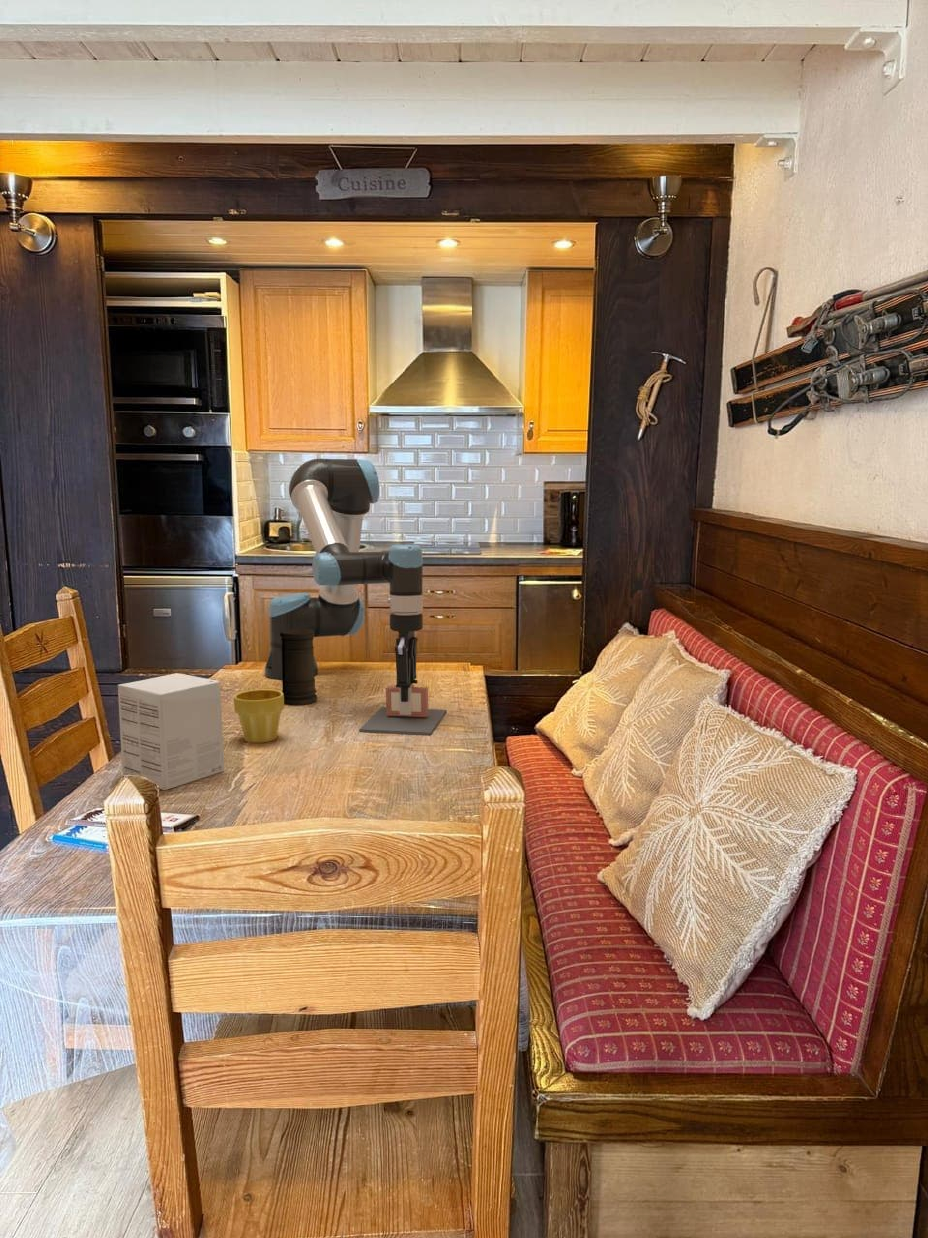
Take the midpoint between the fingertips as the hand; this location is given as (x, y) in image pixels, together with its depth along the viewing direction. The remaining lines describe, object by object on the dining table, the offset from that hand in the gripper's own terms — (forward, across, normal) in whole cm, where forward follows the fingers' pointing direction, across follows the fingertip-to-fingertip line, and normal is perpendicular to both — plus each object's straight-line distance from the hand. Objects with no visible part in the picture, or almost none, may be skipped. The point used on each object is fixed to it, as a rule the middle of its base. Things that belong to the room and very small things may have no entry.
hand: (406, 712), depth 194 cm
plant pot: (+2, +21, -27) cm, 34 cm away
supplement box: (+2, +45, -34) cm, 57 cm away
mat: (+2, +2, 0) cm, 2 cm away
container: (+2, -12, -31) cm, 33 cm away
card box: (+1, 0, 0) cm, 1 cm away
